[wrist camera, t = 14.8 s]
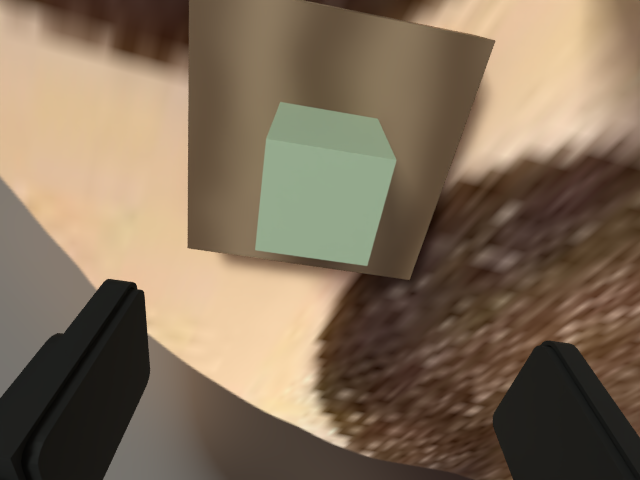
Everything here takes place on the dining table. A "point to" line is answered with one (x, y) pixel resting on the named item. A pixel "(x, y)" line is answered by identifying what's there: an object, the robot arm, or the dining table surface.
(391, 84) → the walnut block
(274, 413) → the dining table surface
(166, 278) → the dining table surface
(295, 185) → the green cube
